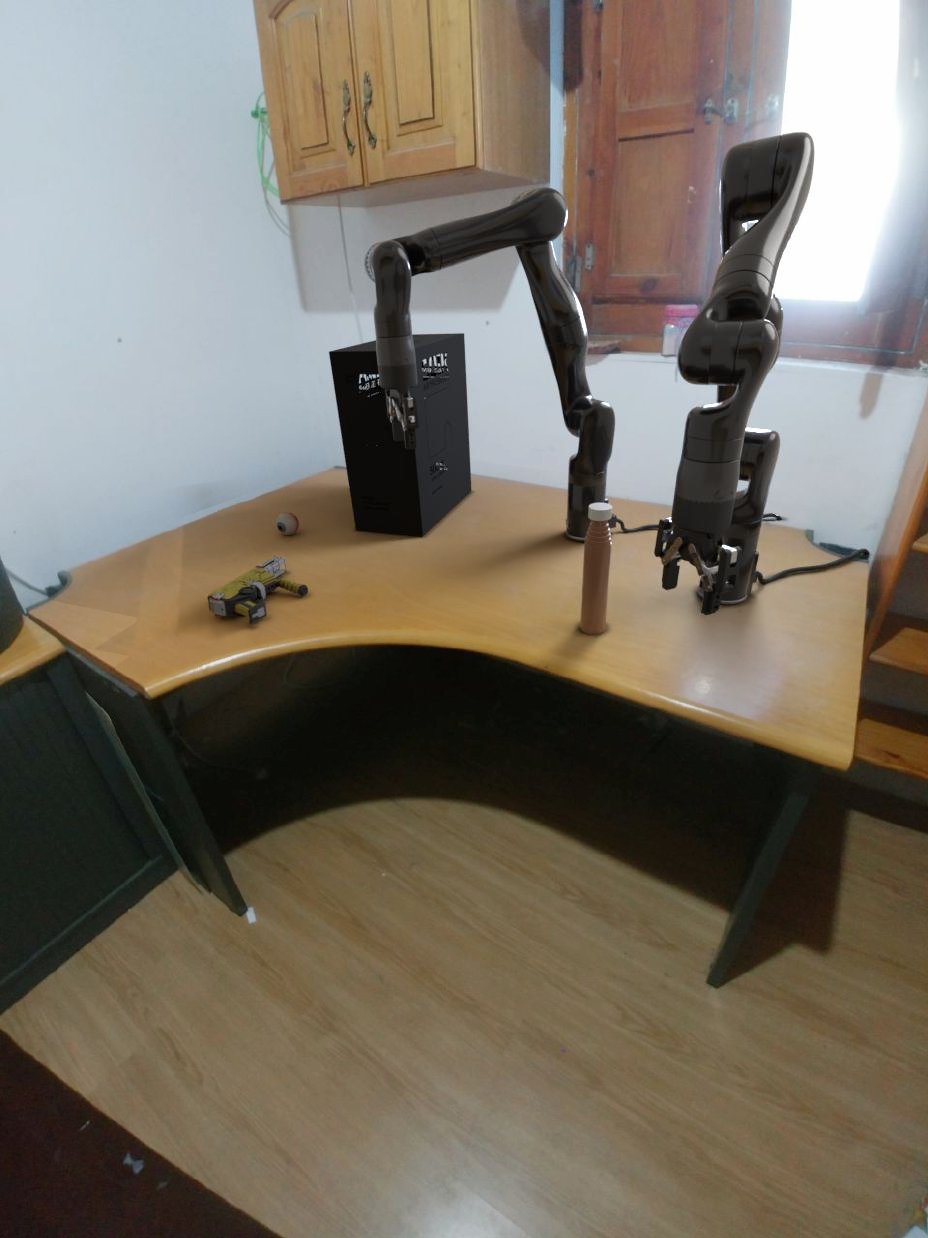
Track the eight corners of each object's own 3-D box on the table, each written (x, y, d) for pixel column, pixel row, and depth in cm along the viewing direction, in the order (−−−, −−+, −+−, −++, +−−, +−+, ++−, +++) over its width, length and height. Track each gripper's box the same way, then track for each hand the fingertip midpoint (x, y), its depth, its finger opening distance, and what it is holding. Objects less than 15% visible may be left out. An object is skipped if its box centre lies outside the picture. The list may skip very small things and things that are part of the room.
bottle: (609, 626, 115) (619, 506, 103) (597, 636, 112) (606, 515, 100) (587, 619, 118) (594, 502, 106) (575, 629, 115) (581, 510, 103)
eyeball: (273, 537, 164) (268, 516, 161) (287, 528, 169) (282, 508, 166) (291, 539, 161) (286, 518, 158) (305, 530, 166) (301, 510, 163)
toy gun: (328, 564, 138) (272, 553, 142) (265, 610, 118) (201, 595, 122) (329, 583, 141) (274, 571, 145) (267, 631, 121) (205, 616, 125)
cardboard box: (412, 487, 195) (398, 334, 173) (471, 491, 189) (464, 333, 166) (355, 529, 165) (328, 351, 143) (423, 536, 159) (406, 350, 136)
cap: (615, 515, 104) (616, 505, 103) (604, 522, 101) (605, 511, 100) (595, 511, 106) (595, 501, 105) (583, 518, 104) (584, 507, 103)
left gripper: (426, 362, 113) (433, 449, 121) (404, 355, 125) (411, 435, 133) (387, 367, 111) (397, 455, 119) (369, 359, 123) (378, 440, 131)
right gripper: (770, 501, 74) (745, 617, 82) (692, 472, 85) (677, 575, 93) (720, 511, 71) (700, 629, 79) (647, 480, 83) (636, 585, 91)
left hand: (404, 444), depth 126 cm, fingers open, 8 cm apart
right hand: (687, 600), depth 86 cm, fingers open, 8 cm apart
